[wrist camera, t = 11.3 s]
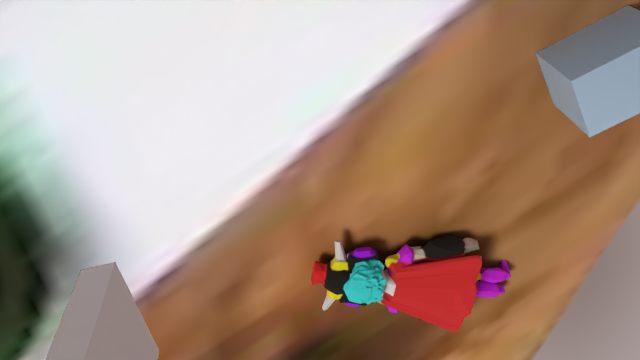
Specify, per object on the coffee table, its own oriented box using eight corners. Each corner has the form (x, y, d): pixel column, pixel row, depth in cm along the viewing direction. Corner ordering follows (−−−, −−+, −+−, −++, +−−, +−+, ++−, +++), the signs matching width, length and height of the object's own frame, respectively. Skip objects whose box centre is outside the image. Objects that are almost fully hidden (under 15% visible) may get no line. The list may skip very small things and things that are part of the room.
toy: (516, 232, 45) (318, 217, 43) (538, 264, 42) (323, 250, 39) (487, 310, 49) (303, 300, 46) (505, 346, 45) (307, 337, 43)
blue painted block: (535, 52, 38) (570, 81, 33) (627, 4, 37) (676, 27, 32) (553, 104, 40) (589, 137, 35) (641, 59, 39) (690, 88, 34)
